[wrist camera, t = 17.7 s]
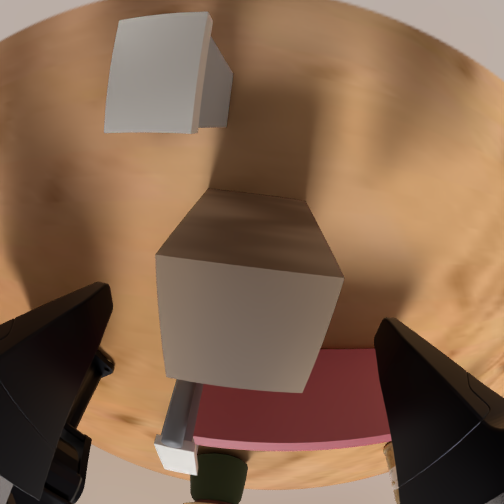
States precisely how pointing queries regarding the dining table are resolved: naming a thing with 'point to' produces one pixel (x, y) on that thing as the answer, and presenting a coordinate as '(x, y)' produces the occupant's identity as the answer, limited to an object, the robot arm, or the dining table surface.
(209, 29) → the pair of grey plates
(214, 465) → the character mug
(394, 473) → the sprinkles bottle
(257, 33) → the dining table surface
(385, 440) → the door
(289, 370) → the block
